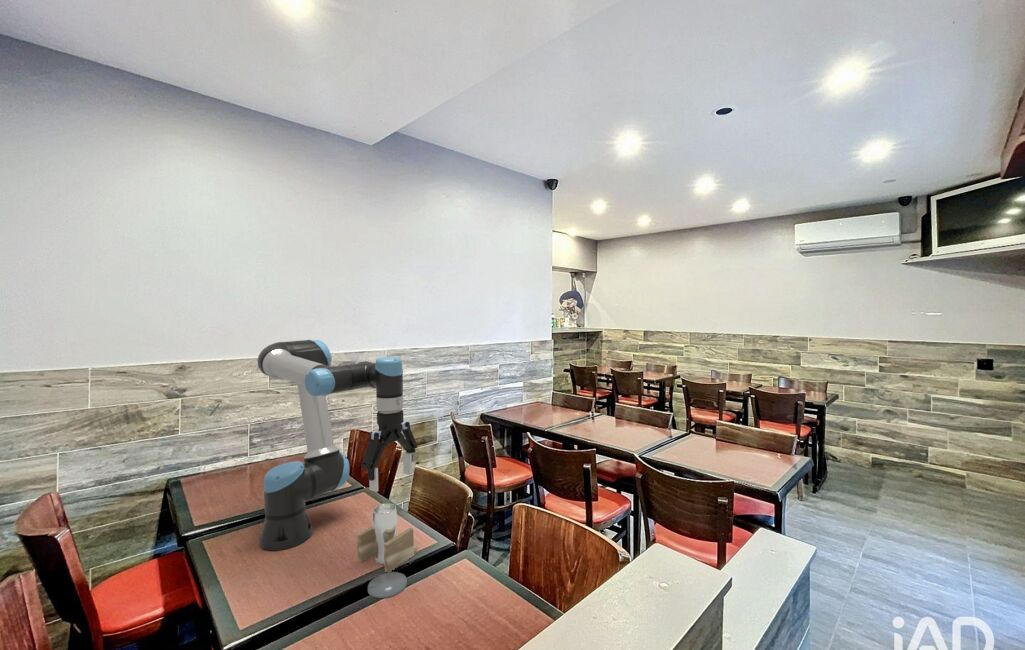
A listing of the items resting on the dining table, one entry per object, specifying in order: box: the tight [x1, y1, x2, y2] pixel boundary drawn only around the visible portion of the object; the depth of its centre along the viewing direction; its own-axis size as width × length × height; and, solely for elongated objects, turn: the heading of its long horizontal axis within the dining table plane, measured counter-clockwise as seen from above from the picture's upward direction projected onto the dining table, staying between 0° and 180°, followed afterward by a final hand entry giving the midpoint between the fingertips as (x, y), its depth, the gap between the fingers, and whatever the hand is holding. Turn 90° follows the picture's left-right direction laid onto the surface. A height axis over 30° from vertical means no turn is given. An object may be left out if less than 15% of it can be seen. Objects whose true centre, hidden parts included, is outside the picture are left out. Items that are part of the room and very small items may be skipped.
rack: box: [356, 525, 418, 573], centre depth 126 cm, size 12×11×8 cm
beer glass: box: [372, 503, 398, 565], centre depth 126 cm, size 7×7×15 cm
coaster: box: [367, 571, 408, 599], centre depth 113 cm, size 10×10×1 cm
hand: (391, 481), depth 126 cm, fingers open, 13 cm apart
